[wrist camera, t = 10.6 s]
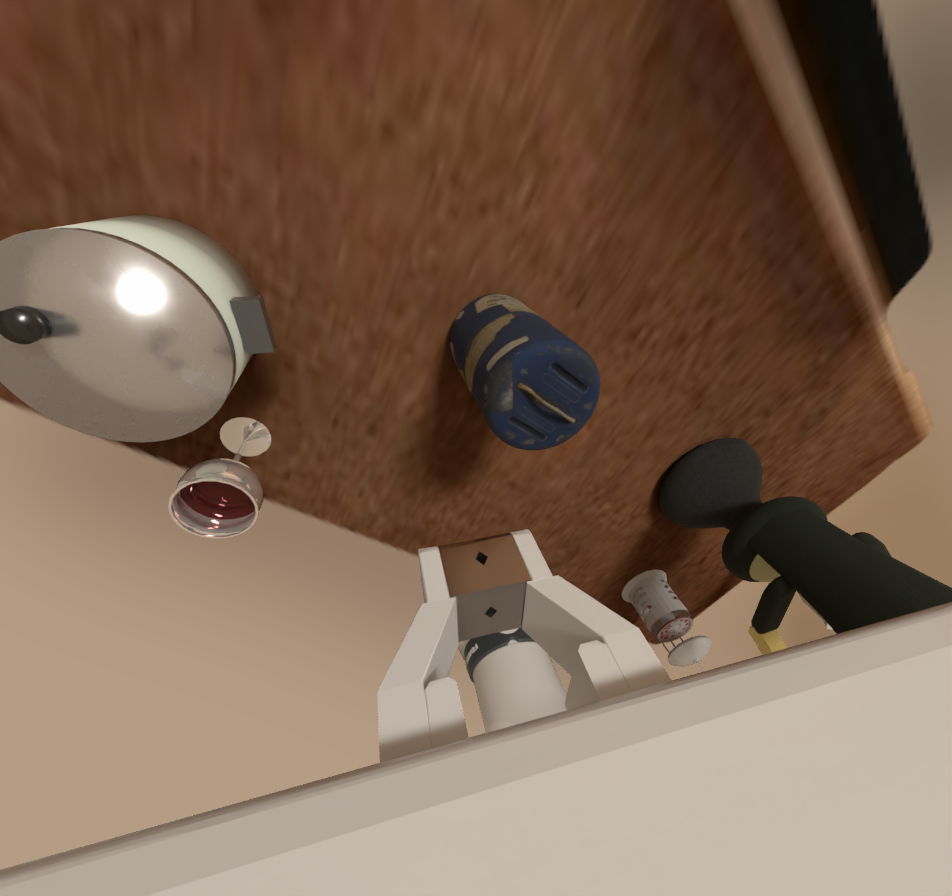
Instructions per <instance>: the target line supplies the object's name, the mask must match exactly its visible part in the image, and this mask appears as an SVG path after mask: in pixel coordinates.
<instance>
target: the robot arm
mask: <svg viewBox="0 0 952 896" xmlns="http://www.w3.org/2000/svg"><path fill="white" fill-rule="evenodd" d="M418 554H419V563H420V571H421V580H422V588H423V596H424V604H421V605H420V607H419V609H418V611H417V613H416V615H415V618H414V619H413V621H412V623H411V625H410V628H409V629H408V632H407V634H406V636H405V638H404V640H403V642H402V644H401V646H400V648H399V650H398V652H397V654H396V656H395V658H394V660H393V662H392V664H391V666H390V668H389V670H388V672H387V674H386V676H385V678H384V680H383V682H382V684H381V686H380V688H379V690H378V692H377V694H378V722H379V750H380V763H378V764H375V765H371V766H367V767H364V768H360V769H357V770H353V771H350V772H346V773H342V774H339V775H335V776H332V777H328V778H325V779H321V780H318V781H314V782H311V783H307V784H303V785H300V786H297V787H293V788H289V789H286V790H282V791H279V792H275V793H272V794H268V795H265V796H261V797H257V798H254V799H250V800H247V801H243V802H240V803H236V804H233V805H229V806H225V807H222V808H218V809H215V810H212V811H208V812H204V813H201V814H197V815H193V816H190V817H186V818H183V819H179V820H176V821H172V822H169V823H165V824H162V825H158V826H155V827H151V828H147V829H144V830H140V831H137V832H134V833H130V834H126V835H123V836H120V837H116V838H112V839H109V840H105V841H102V842H98V843H95V844H91V845H87V846H84V847H80V848H77V849H73V850H70V851H66V852H63V853H59V854H55V855H52V856H48V857H45V858H41V859H38V860H34V861H31V862H27V863H23V864H20V865H17V866H13V867H9V868H6V869H2V870H0V896H952V602H949V603H946V604H942V605H939V606H935V607H932V608H928V609H924V610H921V611H917V612H914V613H910V614H907V615H903V616H900V617H896V618H892V619H889V620H885V621H882V622H878V623H875V624H871V625H868V626H864V627H860V628H857V629H853V630H850V631H846V632H843V633H839V634H836V635H833V636H829V637H825V638H822V639H818V640H815V641H811V642H808V643H804V644H800V645H797V646H793V647H790V648H786V649H783V650H779V651H775V652H772V653H768V654H765V655H761V656H758V657H754V658H751V659H747V660H744V661H740V662H736V663H733V664H729V665H726V666H722V667H719V668H715V669H712V670H708V671H704V672H701V673H698V674H694V675H690V676H687V677H683V678H680V679H676V680H673V681H672V680H671V679H670V677H669V676H668V674H667V672H666V671H665V669H664V668H663V666H662V664H661V663H660V661H659V660H658V658H657V657H656V655H655V653H654V652H653V650H652V649H651V647H650V645H649V644H648V642H647V641H646V639H645V637H644V636H643V634H642V633H641V631H640V629H639V628H637V627H636V626H634V625H633V624H631V623H630V622H628V621H627V620H625V619H624V618H622V617H621V616H619V615H618V614H616V613H615V612H613V611H612V610H610V609H609V608H607V607H606V606H604V605H602V604H601V603H599V602H598V601H596V600H595V599H593V598H592V597H590V596H589V595H587V594H586V593H584V592H583V591H581V590H580V589H578V588H577V587H575V586H574V585H572V584H571V583H569V582H568V581H566V580H564V579H563V578H561V577H560V576H558V575H557V576H552V574H551V572H550V570H549V568H548V566H547V564H546V562H545V560H544V558H543V556H542V554H541V552H540V550H539V548H538V546H537V544H536V542H535V540H534V538H533V536H532V534H531V532H530V531H529V530H528V529H527V530H522V531H517V532H511V533H505V534H500V535H495V536H490V537H485V538H480V539H475V540H471V541H465V542H459V543H452V544H446V545H440V546H438V547H437V546H435V547H429V548H423V549H418ZM457 648H458V649H459V651H460V653H461V655H462V657H463V659H464V660H465V661H466V668H467V671H468V674H469V676H470V679H471V681H472V682H473V683H474V684H475V689H476V693H477V696H478V701H479V706H480V710H481V714H482V719H483V722H484V726H485V731H486V733H484V734H481V735H477V736H474V737H470V738H468V733H467V728H466V724H465V719H464V714H463V709H462V704H461V700H460V695H459V690H458V685H457V681H455V680H453V679H452V678H450V677H448V675H449V672H450V669H451V666H452V663H453V660H454V657H455V654H456V651H457ZM550 656H551V657H552V658H553V659H554V660H555V661H556V662H557V663H558V664H559V665H560V666H562V667H563V668H564V669H565V670H566V671H567V672H568V673H569V674H570V675H571V680H570V685H569V688H568V692H567V693H566V691H565V689H564V687H563V685H562V683H561V680H560V678H559V676H558V674H557V672H556V669H555V667H554V665H553V662H552V660H551V658H550Z"/></svg>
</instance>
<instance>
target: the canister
mask: <svg viewBox="0 0 952 896" xmlns="http://www.w3.org/2000/svg"><path fill="white" fill-rule="evenodd" d="M450 347H451V353H452V356H453V359H454V361H455V363H456V365H457V367H458V369H459V372H460V374H461V376H462V377H463V379H464V381H465V383H466V385H467V387H468V389H469V391H470V392H471V393H472V395H473V396H474V398H475V400H476V402H477V404H478V406H479V407H480V409H481V411H482V413H483V415H484V417H485V419H486V421H487V422H488V424H489V426H490V428H491V429H492V431H493V432H494V433H495V434H496V435H497V436H498V437H499V438H500V439H501V440H502V441H504V442H505V443H507V444H509V445H511V446H513V447H515V448H519V449H524V450H542V449H547V448H551V447H554V446H556V445H559V444H561V443H563V442H565V441H567V440H568V439H569V438H571V437H572V436H574V435H575V434H576V433H577V432H578V431H579V430H580V429H581V428H582V427H583V426H584V425H585V424H586V422H587V421H588V420H589V418H590V417H591V415H592V413H593V411H594V409H595V407H596V405H597V402H598V398H599V392H600V379H599V373H598V370H597V367H596V365H595V363H594V361H593V359H592V358H591V356H590V355H589V354H588V353H587V352H586V351H585V350H584V349H583V348H582V347H580V346H579V345H577V344H576V343H575V342H574V341H572V340H571V339H570V338H568V337H567V336H566V335H564V334H563V333H562V332H560V331H559V330H558V329H556V328H555V327H553V326H552V325H551V324H550V323H548V322H547V321H546V320H544V319H543V318H542V317H541V316H539V315H538V314H536V313H535V312H534V311H532V310H531V309H529V308H528V307H527V306H525V305H524V304H523V303H521V302H520V301H518V300H517V299H515V298H513V297H510V296H508V295H503V294H490V295H485V296H482V297H479V298H477V299H475V300H473V301H472V302H470V303H469V304H468V305H467V306H466V307H465V308H464V309H463V310H462V311H461V312H460V313H459V315H458V316H457V318H456V320H455V322H454V324H453V327H452V330H451V336H450Z"/></svg>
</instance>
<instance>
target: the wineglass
mask: <svg viewBox="0 0 952 896" xmlns="http://www.w3.org/2000/svg"><path fill="white" fill-rule="evenodd" d="M220 439H221V441H222V443H223V445H224V446H225V447H226V448H227V449H228V450H230V451H231V452H233V453H235V456H234V458H233V459H232V460H231V459H219V458H215V459H210V460H206V461H203V462H201V463H199V464H197V465H195V466H193V467H192V468H190V469H189V470H187V471H186V473H185V474H184V475H183V476H182V477H181V478H180V480H179V481H178V484H177V488H176V491H175V492H174V493H173V494H172V495H171V496H170V500H169V504H168V508H169V512H170V516H171V517H172V519H173V520H174V521H175V522H176V524H177V525H178V526H180V527H181V528H183V529H184V530H186V531H187V532H189V533H192V534H194V535H197V536H200V537H206V538H211V539H223V538H230V537H234V536H238V535H240V534H242V533H244V532H246V531H248V530H249V529H250V528H251V527H252V526H253V525H254V524H255V522H256V520H257V517H258V511H259V509H260V508H261V505H262V503H263V498H264V494H263V485H262V483H261V480H260V479H259V477H258V475H257V473H255V472H254V471H253V470H252V469H251V468H250V467H249V466H247V465H245V464H243V463H241V462H240V459H241V456H255V455H259V454H261V453H263V452H265V451H266V450H267V449H268V448H269V446H270V443H271V435H270V433H269V431H268V429H267V428H266V427H265V426H264V425H263V424H262V423H260V422H258V421H257V420H254V419H251V418H244V417H238V418H234V419H231V420H229V421H227V422H225V424H224V425H223V426H222V427H221V430H220Z"/></svg>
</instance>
